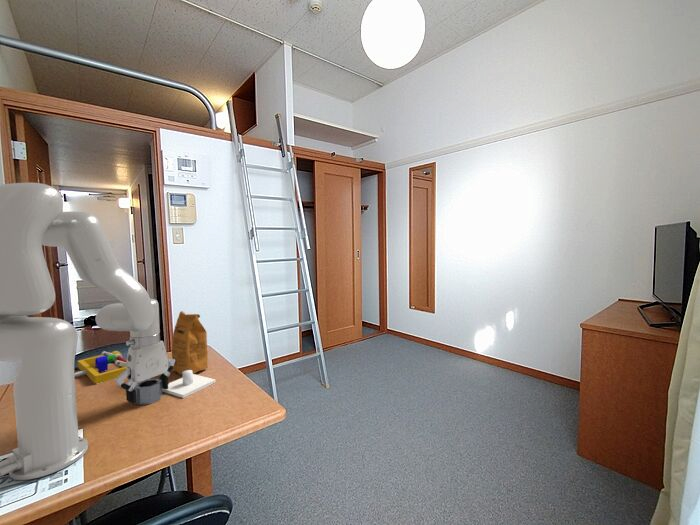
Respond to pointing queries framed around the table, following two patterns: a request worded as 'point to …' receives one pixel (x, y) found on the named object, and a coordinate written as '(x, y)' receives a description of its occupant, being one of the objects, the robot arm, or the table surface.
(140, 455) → the table surface
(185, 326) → the coffee package
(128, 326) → the robot arm
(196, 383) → the stand
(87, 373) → the yellow toy tray
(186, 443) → the table surface
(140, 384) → the ring
